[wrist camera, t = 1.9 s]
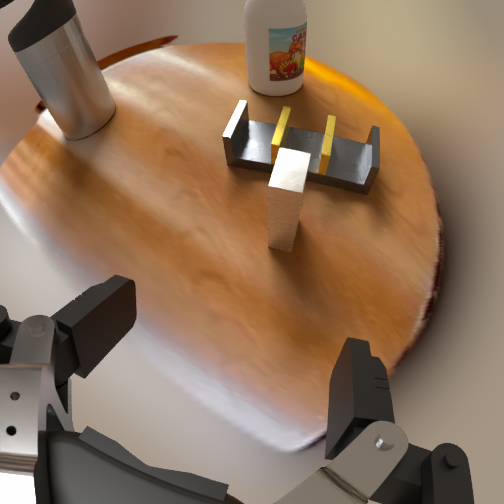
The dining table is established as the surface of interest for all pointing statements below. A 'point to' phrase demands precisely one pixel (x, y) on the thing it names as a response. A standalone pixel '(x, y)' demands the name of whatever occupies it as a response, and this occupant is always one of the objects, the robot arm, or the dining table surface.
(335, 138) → the rack
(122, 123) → the dining table surface
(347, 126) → the dining table surface
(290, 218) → the white block
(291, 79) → the milk bottle
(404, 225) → the dining table surface
